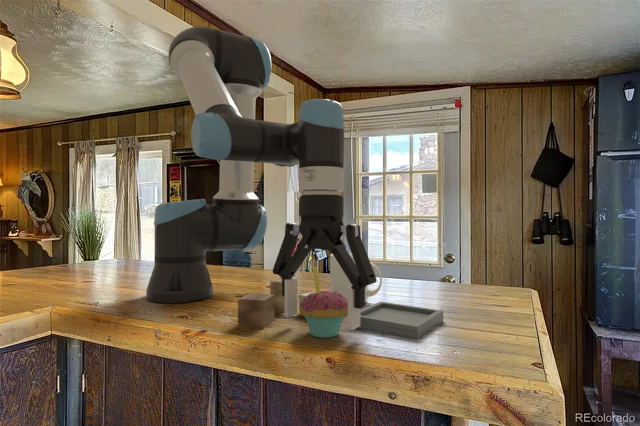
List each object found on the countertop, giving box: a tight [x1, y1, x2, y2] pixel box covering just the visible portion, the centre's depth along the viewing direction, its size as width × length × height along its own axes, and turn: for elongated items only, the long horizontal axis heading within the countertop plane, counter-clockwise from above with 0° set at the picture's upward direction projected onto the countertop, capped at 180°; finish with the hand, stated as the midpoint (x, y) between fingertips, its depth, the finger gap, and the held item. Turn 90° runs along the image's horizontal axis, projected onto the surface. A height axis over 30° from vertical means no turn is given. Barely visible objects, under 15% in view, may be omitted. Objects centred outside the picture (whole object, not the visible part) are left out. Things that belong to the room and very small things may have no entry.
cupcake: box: [300, 262, 348, 339], centre depth 67 cm, size 9×8×12 cm
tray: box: [358, 301, 444, 340], centre depth 73 cm, size 13×13×2 cm
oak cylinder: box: [269, 279, 285, 314], centre depth 83 cm, size 4×4×6 cm
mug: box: [329, 252, 383, 303], centre depth 91 cm, size 9×12×11 cm
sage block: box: [298, 291, 315, 316], centre depth 80 cm, size 5×5×4 cm
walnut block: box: [237, 292, 275, 329], centre depth 73 cm, size 5×5×5 cm
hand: (320, 321), depth 67 cm, fingers open, 12 cm apart
